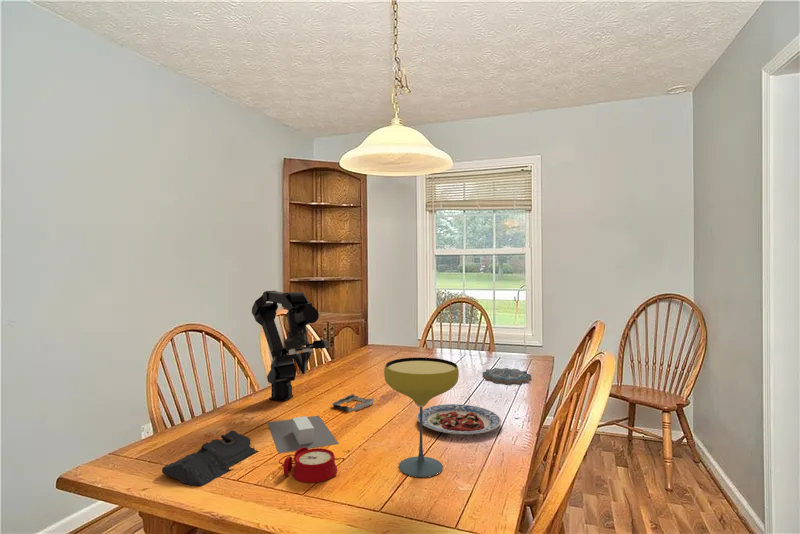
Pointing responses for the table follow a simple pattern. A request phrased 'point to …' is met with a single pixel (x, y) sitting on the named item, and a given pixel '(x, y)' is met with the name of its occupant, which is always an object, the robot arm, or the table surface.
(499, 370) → the decorative tile
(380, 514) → the table surface
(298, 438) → the painted block
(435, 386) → the cocktail glass
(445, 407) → the ceramic plate
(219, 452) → the dark slate chunk
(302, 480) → the alarm clock
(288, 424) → the rubber mat
